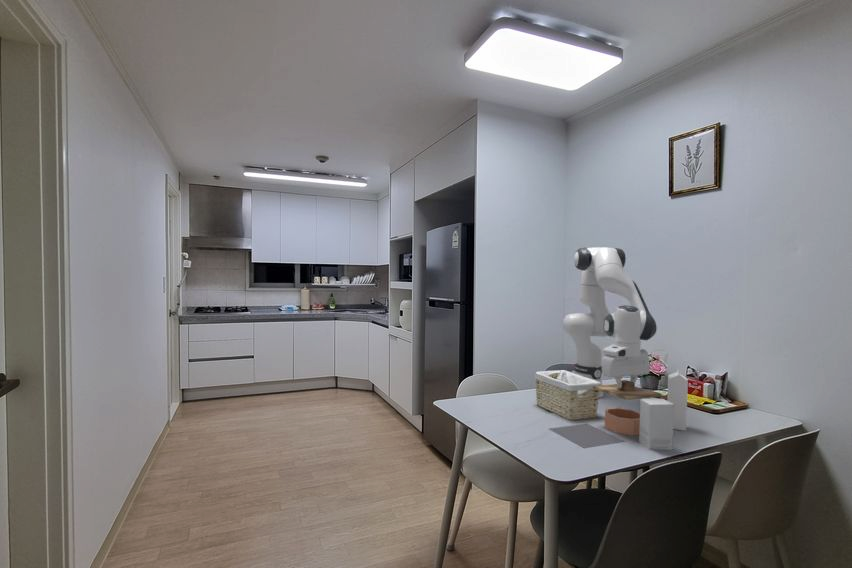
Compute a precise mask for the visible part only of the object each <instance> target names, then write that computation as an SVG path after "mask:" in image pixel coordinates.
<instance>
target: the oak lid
mask: <svg viewBox="0 0 852 568" xmlns="http://www.w3.org/2000/svg"><path fill="white" fill-rule="evenodd" d="M621 382H622V383H624V388H618V387H617V383H613V384H602V385H599V386H593V389H595V390H598V391H601V392H604V393H605V394H607V395H611V396H614V397H616V398H619V399H623V400H626V401H632V400H640V399H654V398H660V397H662V394H661V393H658V392H656V391H652V390H649V389H647V388H646V389H645V388H642V387H638V386H636V382H635V383H634V382H631V381H630V380H626V379H624V380H623V379H621ZM604 393H603V394H604Z"/></svg>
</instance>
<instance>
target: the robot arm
mask: <svg viewBox="0 0 852 568" xmlns="http://www.w3.org/2000/svg"><path fill="white" fill-rule="evenodd" d="M626 259H627V257H626V253H625V251H624V250H623V249H622V248H618V247H607V246H604V247H603V246H599V247H598V246H597V247H581V248H578V249H577V250H576V251H575V254H574V256H573V263H574V266H575V268H576V269H577V270H580V271H581V276H580V283H579V284H580V285H579V300H580V302H581V303H582V304H583V305H585V306H586V307H588V308H589V309H590V313H587V312H586V313H585V312H584V313H583V312H574V313H569V314H566V315H565V316H564V318H563V320H562V328H563V331H564V332H565V333H566V334H567V335H568V336H569V337H570V338H571V339H572V340H573V343H574V344H575V347H576V363H573V364H572V366H573V367H574V368H573V370H572V371H570V372H571V373H574V374H577V375H580V376H583V377H586V378H589V379H592V380H595V381H598V382H600V383H601V385H603V377H602V375H603V376H605V377H608V378H614V380H615V382H616V384H617V387H618V388H624V383H622V382H621V380H623V379H622V378H623V377H628V376H629V377H630V379H629V381H631V382H634V383H635V384H636V382H637V380H638V376H640V375H641V376H642V375H643V376H644V375H649V373H650V371H651V369H650V368H651V365H650V357H649V353H648V351H647V350H646V349H643V348H641V341H648V340H651V339H652V338H653V337H654V336H655V334H657V331H658V330H657V327H658V326H657V323H656V320H655V319H654V317H653V316H652V314H651V313H650V311H649V308H648V307H647V306H648V305H647V304H646V301H645V299H644V297H643V294H642V293H641V291H640V288H639V287H638V285H637V283H636V282H635V281H634V280H632V279H631V278H630V277H629V276H628V275H627V274H626V272H625V271H624V270H625V269H624V267H625V264H626ZM606 292H609V293H612V294H615V295H618V296H621V297H623V298H624V299H626V300H627V301H628V303H630V305H627V304H626V305H619V306H617V307H616V310H615V311H614V312H613V313H611V312H610V311H609V310H608V307H607V305H606V297H605V296H606V295H605V294H606ZM591 337H600V338H601V337H610V338H614V340H613V343H612V344H610V345H608V346H606V347H604V348H603V350H602V349H601V348H600V346H598V345H597V344H596V343H593V342H592V341H591ZM602 355H604V356H603V357H602ZM604 396H605V395H604V392H601V391H600V394H599V398H603V397H604Z"/></svg>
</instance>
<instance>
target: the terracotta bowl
mask: <svg viewBox="0 0 852 568" xmlns="http://www.w3.org/2000/svg"><path fill="white" fill-rule="evenodd" d="M604 428H605V429H608V430H609V431H612V432H614V433H616V434H622V435H629V436H637V435H639V429H640V411H636V410H633V409H630V408H621V407H610V408H605V410H604Z"/></svg>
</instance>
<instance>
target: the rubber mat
mask: <svg viewBox="0 0 852 568" xmlns="http://www.w3.org/2000/svg"><path fill="white" fill-rule="evenodd" d="M548 430H549V431H551V432H553V433H554V434H557V435H559V436H561V437H563V439H565V440H568V441H570V442H571V443H573V444H576V446H578V447H580V448H582V449H588V448H589V449H590V448H595V447H601V446H608V445H613V444H619V443H625V442H626V441H625V440H623V439H621V438H619V437H616V436H614V435H612V434H611V433H608V432H606V431H604V430H602V429H599V428H598V427H596V426H593V425H591V424H589V423H582V424H573V425H567V426H559V427H557V426H556V427H550V428H548Z"/></svg>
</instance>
